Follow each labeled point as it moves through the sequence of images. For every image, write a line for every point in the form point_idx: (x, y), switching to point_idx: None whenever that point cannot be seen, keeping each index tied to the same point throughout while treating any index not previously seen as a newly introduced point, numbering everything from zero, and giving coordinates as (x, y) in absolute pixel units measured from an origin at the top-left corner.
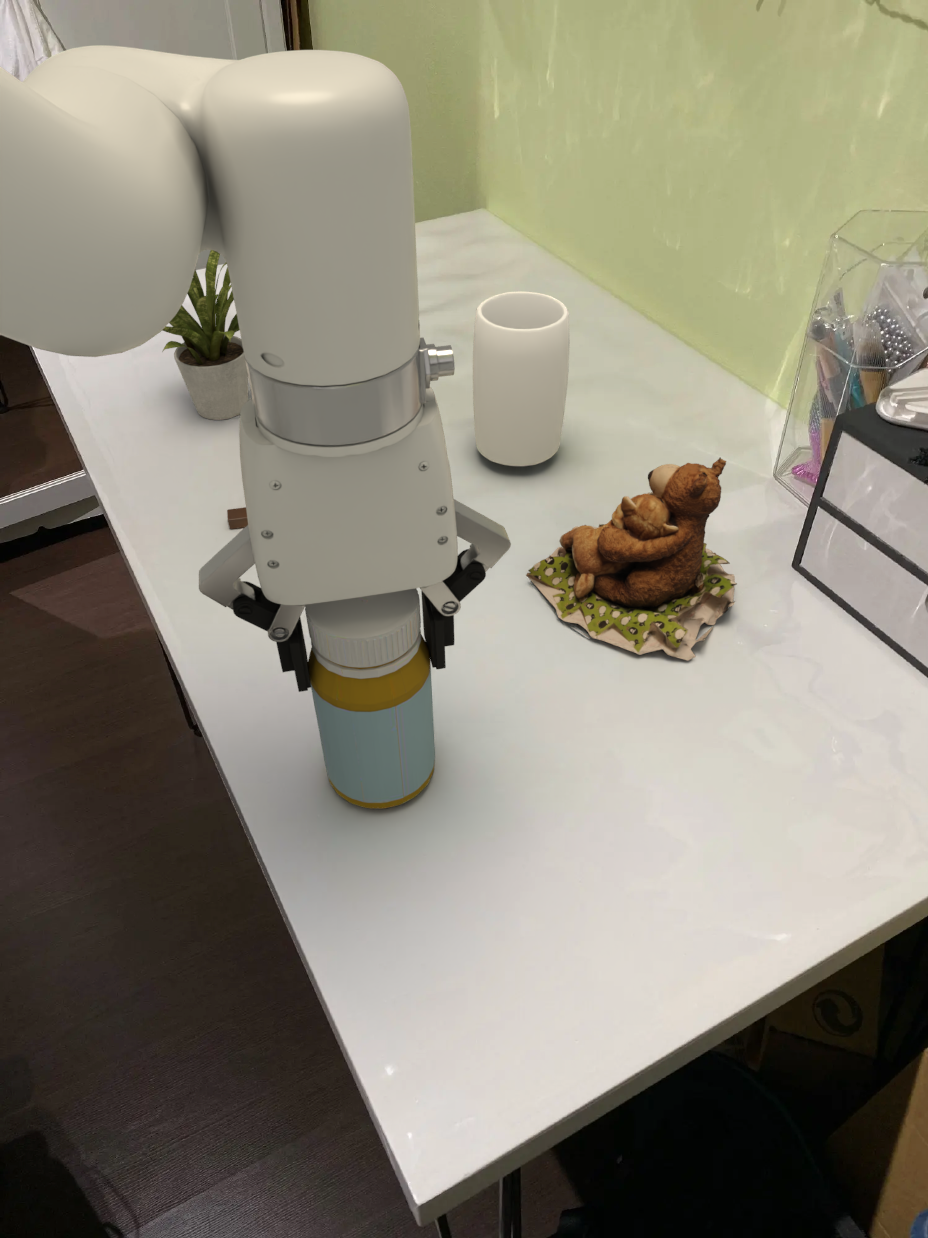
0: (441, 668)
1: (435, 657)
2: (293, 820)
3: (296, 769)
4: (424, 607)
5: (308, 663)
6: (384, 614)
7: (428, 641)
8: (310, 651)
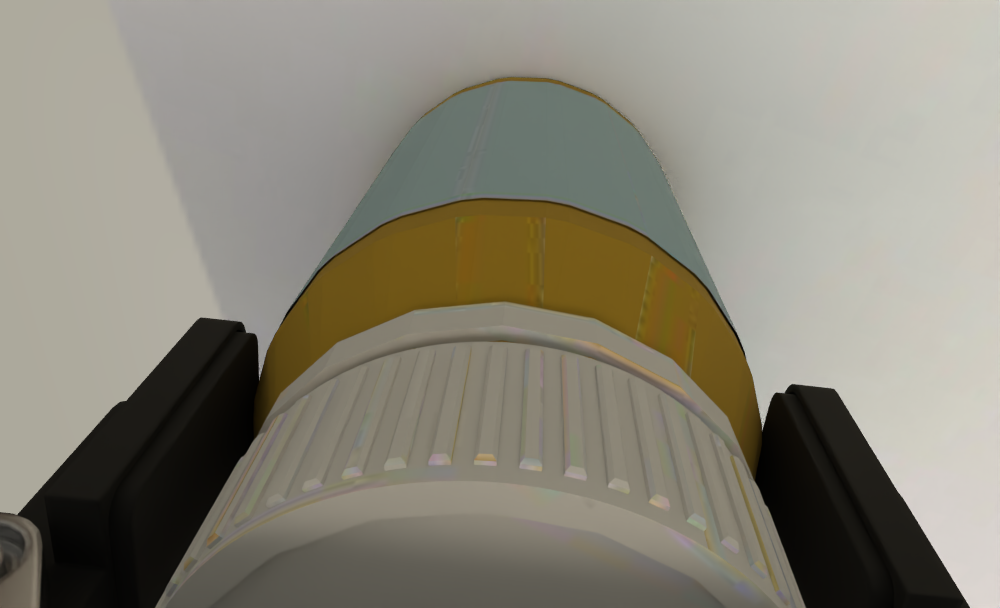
0: None
1: None
2: (290, 282)
3: (309, 139)
4: (826, 593)
5: (253, 422)
6: None
7: None
8: (266, 363)
